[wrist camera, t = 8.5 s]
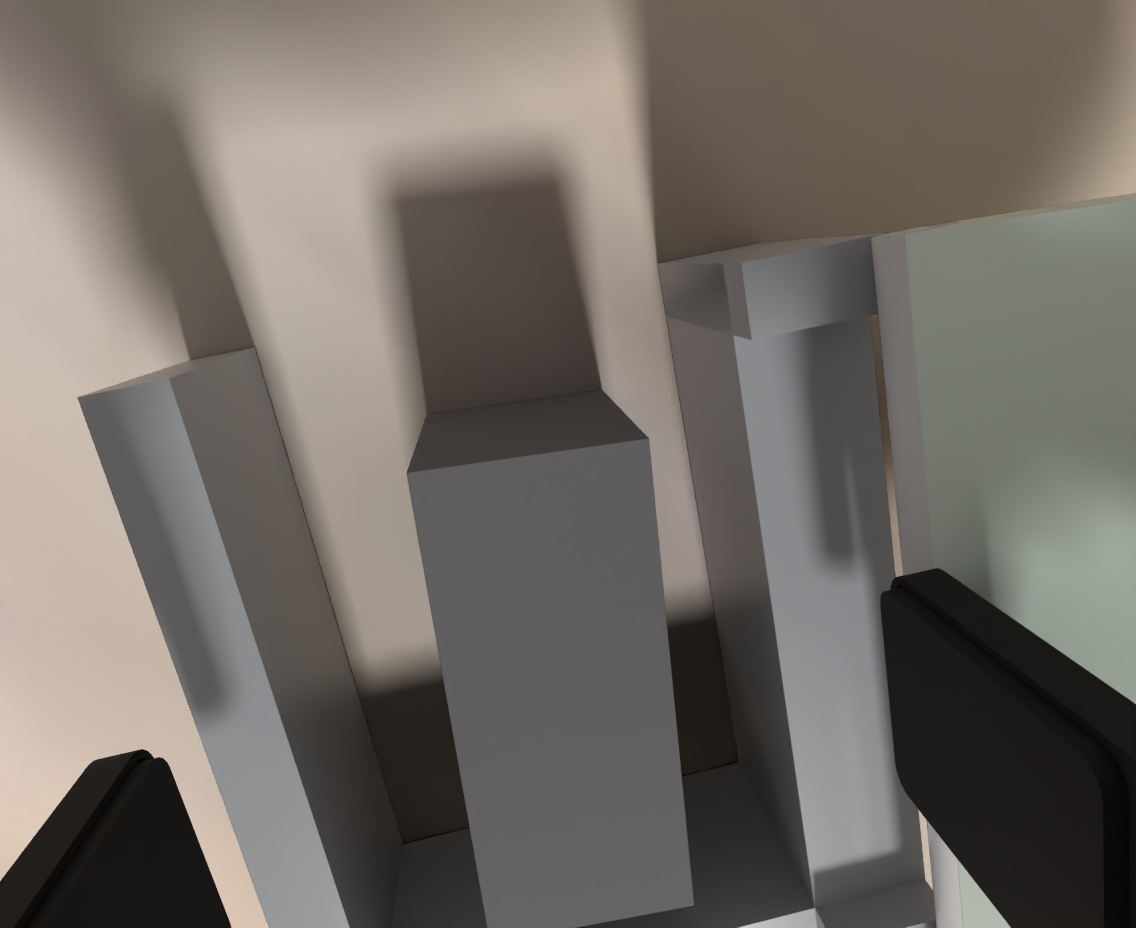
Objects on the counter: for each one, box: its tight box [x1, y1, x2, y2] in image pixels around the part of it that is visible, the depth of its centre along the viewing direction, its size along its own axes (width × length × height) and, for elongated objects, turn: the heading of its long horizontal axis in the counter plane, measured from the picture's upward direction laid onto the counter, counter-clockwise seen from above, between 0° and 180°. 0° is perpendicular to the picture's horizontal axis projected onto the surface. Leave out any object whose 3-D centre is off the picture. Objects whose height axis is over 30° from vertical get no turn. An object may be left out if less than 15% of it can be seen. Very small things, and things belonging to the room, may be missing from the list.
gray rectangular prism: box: [407, 390, 694, 928], centre depth 14 cm, size 8×3×5 cm, turn 7°
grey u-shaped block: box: [77, 232, 937, 928], centre depth 14 cm, size 12×11×5 cm
